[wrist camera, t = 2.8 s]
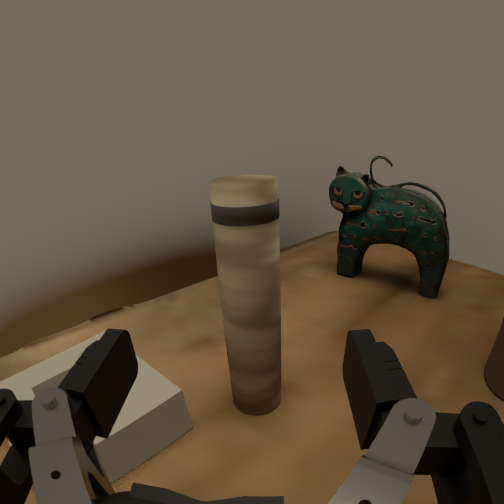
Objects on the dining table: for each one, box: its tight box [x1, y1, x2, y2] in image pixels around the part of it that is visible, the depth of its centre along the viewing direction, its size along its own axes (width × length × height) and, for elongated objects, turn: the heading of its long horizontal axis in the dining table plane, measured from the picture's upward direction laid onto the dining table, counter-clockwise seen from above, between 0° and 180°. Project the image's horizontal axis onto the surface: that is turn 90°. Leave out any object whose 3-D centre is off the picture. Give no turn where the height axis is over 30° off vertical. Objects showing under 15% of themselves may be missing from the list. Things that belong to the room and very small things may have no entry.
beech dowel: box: [210, 175, 281, 415], centre depth 24 cm, size 5×5×20 cm
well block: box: [0, 331, 193, 490], centre depth 22 cm, size 15×13×5 cm
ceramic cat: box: [329, 156, 449, 298], centre depth 45 cm, size 20×6×20 cm, turn 48°
